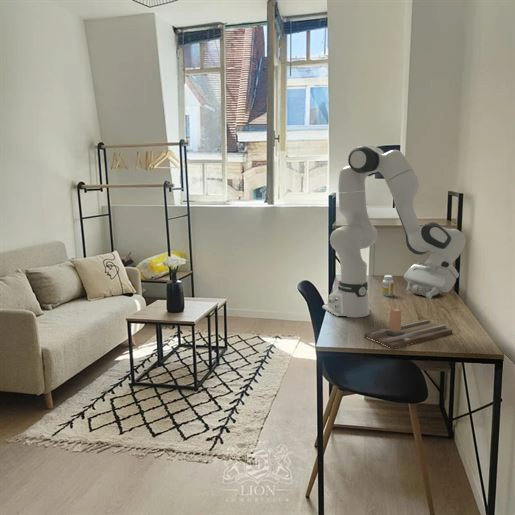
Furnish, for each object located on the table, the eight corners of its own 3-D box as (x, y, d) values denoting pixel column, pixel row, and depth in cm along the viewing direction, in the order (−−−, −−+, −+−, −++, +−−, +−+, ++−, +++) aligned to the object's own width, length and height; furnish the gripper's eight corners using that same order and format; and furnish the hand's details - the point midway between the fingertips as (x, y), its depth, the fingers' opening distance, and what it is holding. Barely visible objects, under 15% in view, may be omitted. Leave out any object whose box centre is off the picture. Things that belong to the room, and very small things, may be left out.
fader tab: (386, 333, 171) (386, 309, 169) (394, 331, 172) (394, 307, 171) (396, 336, 166) (397, 312, 165) (404, 334, 168) (405, 310, 166)
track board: (364, 337, 172) (364, 330, 171) (423, 323, 186) (423, 317, 186) (391, 349, 160) (391, 342, 159) (452, 333, 174) (452, 326, 174)
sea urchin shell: (430, 299, 222) (431, 282, 221) (406, 294, 232) (406, 278, 231) (445, 294, 230) (446, 278, 229) (420, 289, 241) (421, 274, 239)
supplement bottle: (391, 293, 234) (391, 274, 232) (394, 295, 229) (395, 276, 227) (380, 293, 234) (381, 274, 232) (384, 296, 229) (384, 277, 227)
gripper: (412, 257, 182) (392, 284, 180) (455, 265, 165) (435, 295, 162) (419, 266, 185) (400, 293, 182) (463, 276, 167) (443, 306, 165)
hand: (417, 294), depth 172 cm, fingers open, 8 cm apart
